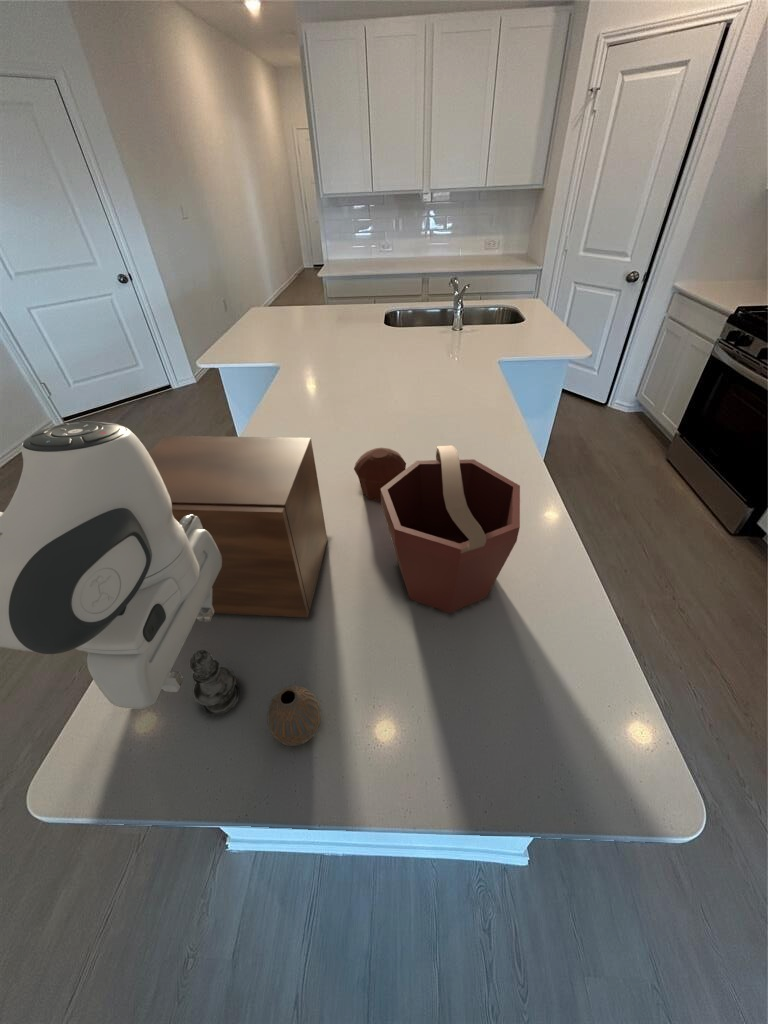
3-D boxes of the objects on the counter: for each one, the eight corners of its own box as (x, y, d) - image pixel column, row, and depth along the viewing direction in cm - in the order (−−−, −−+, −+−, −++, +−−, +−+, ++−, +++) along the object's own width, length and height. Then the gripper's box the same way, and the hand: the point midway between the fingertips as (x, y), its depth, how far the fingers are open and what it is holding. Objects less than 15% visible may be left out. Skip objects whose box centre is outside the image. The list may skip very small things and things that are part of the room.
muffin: (389, 470, 108) (388, 434, 102) (415, 492, 101) (416, 455, 94) (347, 486, 103) (343, 450, 97) (371, 511, 96) (369, 474, 90)
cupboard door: (301, 643, 71) (272, 538, 56) (148, 635, 73) (80, 532, 58) (309, 612, 76) (284, 506, 61) (165, 605, 78) (106, 502, 63)
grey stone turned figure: (249, 690, 66) (228, 645, 58) (219, 725, 62) (192, 681, 54) (222, 672, 68) (199, 626, 60) (192, 704, 64) (162, 659, 57)
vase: (328, 706, 63) (321, 674, 58) (316, 757, 58) (306, 728, 52) (282, 700, 64) (270, 668, 59) (266, 749, 59) (251, 720, 53)
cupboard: (309, 611, 76) (284, 504, 61) (166, 605, 78) (107, 500, 63) (327, 539, 90) (311, 437, 74) (205, 535, 92) (164, 435, 76)
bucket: (500, 642, 70) (528, 528, 54) (367, 619, 75) (356, 506, 58) (504, 538, 88) (526, 429, 72) (397, 524, 93) (395, 418, 76)
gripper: (166, 505, 52) (200, 582, 61) (55, 657, 37) (122, 732, 46) (217, 506, 52) (244, 584, 61) (126, 661, 36) (180, 736, 45)
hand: (191, 649), depth 53 cm, fingers open, 8 cm apart
